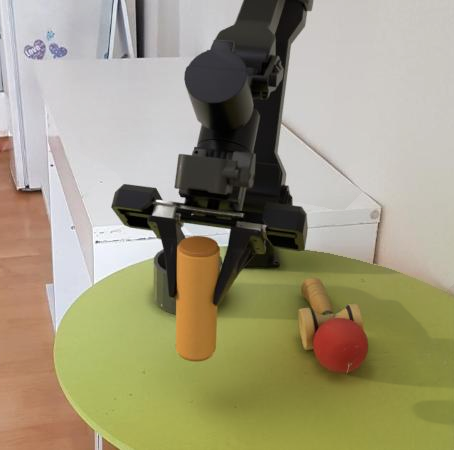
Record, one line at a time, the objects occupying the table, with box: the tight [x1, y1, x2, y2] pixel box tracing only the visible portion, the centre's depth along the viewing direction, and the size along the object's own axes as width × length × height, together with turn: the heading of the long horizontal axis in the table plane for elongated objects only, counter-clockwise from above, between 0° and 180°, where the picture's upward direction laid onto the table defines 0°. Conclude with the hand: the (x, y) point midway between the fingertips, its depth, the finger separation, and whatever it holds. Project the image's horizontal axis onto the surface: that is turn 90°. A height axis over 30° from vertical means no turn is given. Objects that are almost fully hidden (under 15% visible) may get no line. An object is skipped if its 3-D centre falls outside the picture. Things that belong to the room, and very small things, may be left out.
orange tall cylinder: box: [175, 235, 221, 363], centre depth 72 cm, size 4×4×12 cm
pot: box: [153, 249, 223, 315], centre depth 96 cm, size 9×9×6 cm
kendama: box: [297, 277, 369, 374], centre depth 89 cm, size 8×6×18 cm
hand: (193, 301), depth 71 cm, fingers closed on orange tall cylinder, 4 cm apart
